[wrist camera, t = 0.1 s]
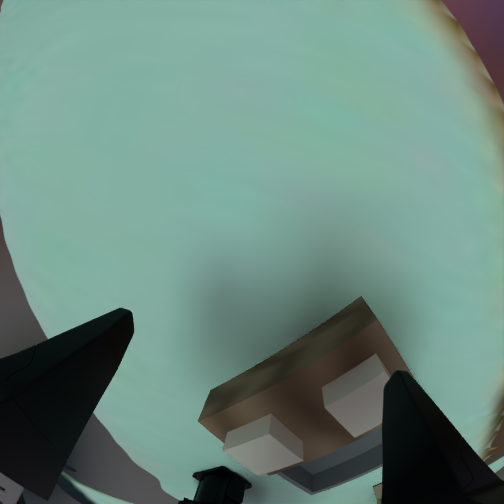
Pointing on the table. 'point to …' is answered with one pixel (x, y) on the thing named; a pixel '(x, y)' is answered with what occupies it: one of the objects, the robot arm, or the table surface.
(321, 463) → the box
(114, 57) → the table surface
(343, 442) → the walnut plate
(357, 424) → the tile
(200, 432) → the table surface
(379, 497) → the gun
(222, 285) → the table surface
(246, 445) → the tile
